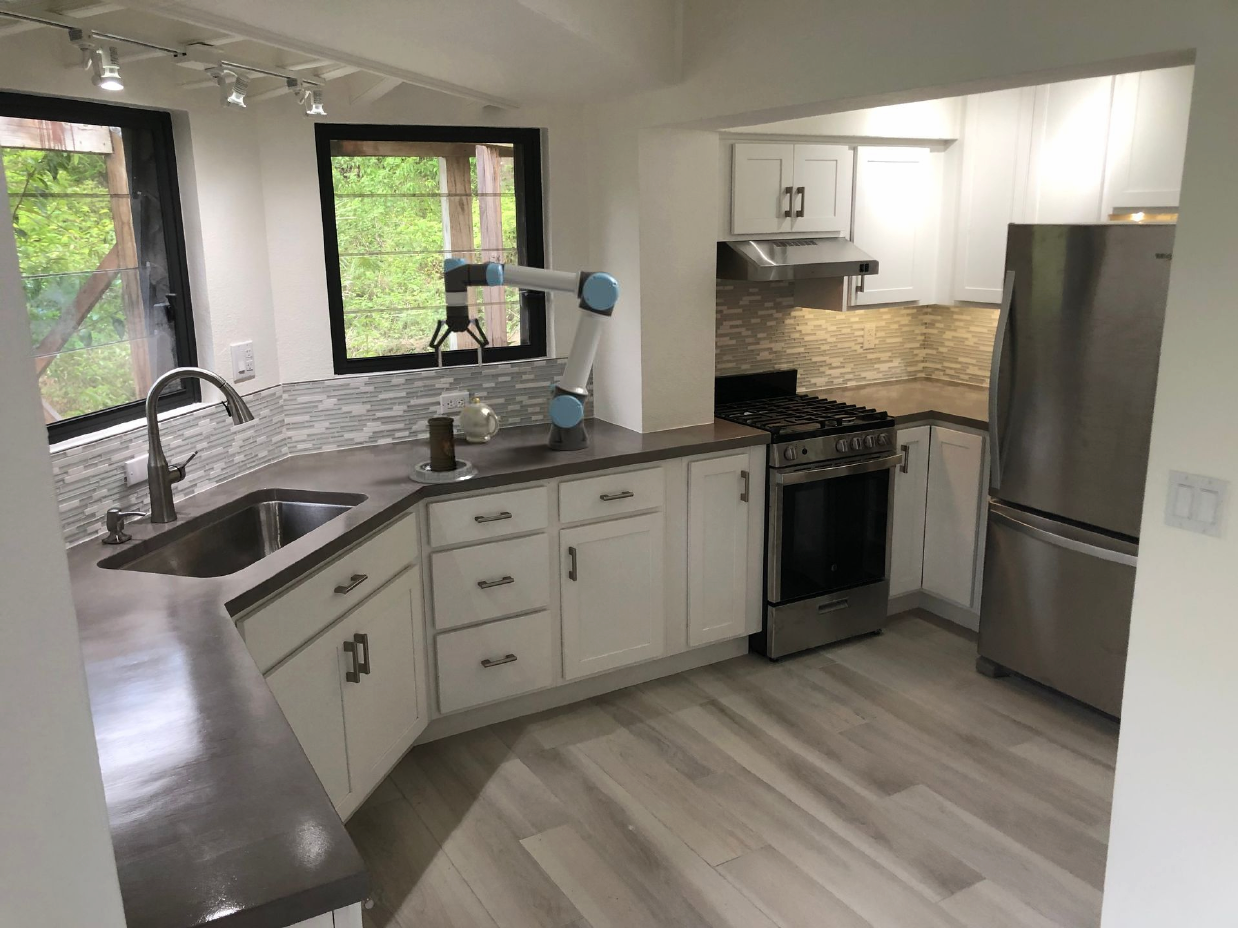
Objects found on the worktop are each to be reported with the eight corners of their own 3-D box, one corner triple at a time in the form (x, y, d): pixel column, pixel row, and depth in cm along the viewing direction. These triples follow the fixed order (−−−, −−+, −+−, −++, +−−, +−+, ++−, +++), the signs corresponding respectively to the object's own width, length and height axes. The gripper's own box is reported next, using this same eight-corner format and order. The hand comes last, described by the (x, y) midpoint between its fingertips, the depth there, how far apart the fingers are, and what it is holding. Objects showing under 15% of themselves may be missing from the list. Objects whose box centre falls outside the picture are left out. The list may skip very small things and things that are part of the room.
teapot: (451, 441, 364) (448, 398, 360) (476, 435, 375) (474, 393, 371) (486, 447, 354) (484, 403, 350) (511, 440, 364) (509, 397, 360)
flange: (472, 464, 330) (472, 455, 329) (482, 480, 309) (481, 471, 308) (407, 469, 324) (406, 460, 323) (412, 486, 303) (411, 476, 303)
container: (425, 476, 313) (422, 421, 308) (435, 469, 321) (432, 416, 317) (452, 477, 311) (448, 422, 307) (461, 470, 320) (458, 416, 315)
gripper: (491, 302, 334) (494, 363, 339) (418, 305, 328) (422, 367, 333) (495, 304, 327) (498, 366, 332) (420, 307, 321) (424, 370, 326)
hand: (460, 367), depth 333 cm, fingers open, 13 cm apart
